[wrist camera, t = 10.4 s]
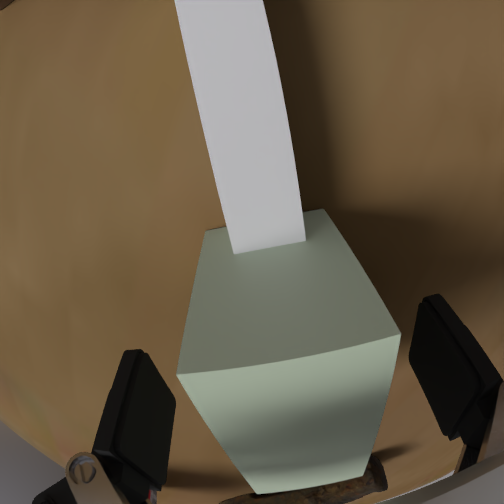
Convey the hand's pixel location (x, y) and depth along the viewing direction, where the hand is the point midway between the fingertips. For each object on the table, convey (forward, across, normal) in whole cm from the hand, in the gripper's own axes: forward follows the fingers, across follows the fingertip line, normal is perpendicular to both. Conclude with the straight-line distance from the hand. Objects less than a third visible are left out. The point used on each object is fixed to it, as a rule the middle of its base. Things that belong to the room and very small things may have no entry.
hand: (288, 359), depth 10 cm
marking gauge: (+3, 0, -4) cm, 5 cm away
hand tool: (+3, +2, +24) cm, 24 cm away
